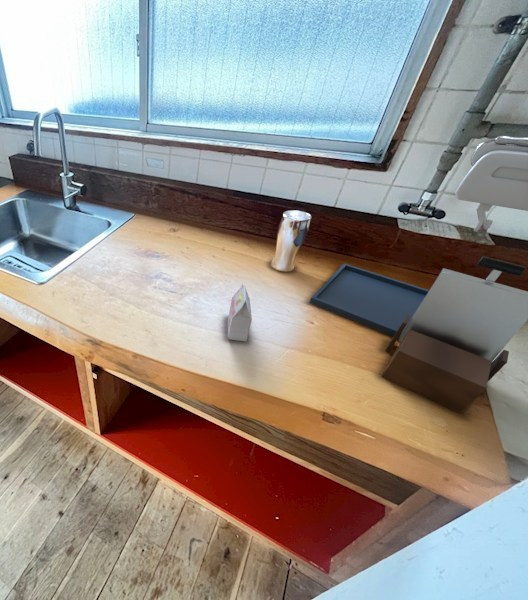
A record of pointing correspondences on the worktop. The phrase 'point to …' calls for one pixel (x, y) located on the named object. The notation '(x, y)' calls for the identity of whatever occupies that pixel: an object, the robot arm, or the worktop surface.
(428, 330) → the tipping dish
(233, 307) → the grey boxy piece
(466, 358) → the stand
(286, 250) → the silver metal vase
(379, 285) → the tray
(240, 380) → the worktop surface
